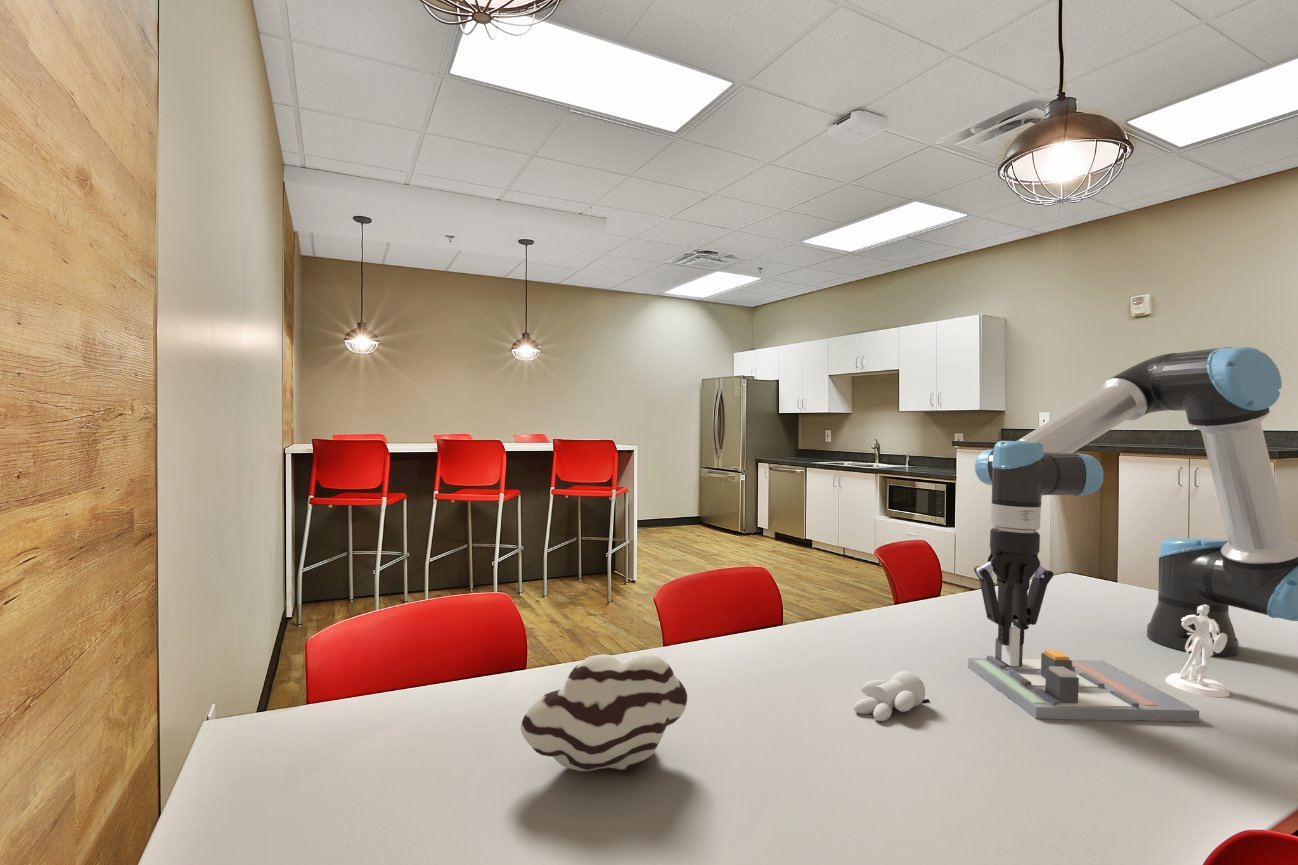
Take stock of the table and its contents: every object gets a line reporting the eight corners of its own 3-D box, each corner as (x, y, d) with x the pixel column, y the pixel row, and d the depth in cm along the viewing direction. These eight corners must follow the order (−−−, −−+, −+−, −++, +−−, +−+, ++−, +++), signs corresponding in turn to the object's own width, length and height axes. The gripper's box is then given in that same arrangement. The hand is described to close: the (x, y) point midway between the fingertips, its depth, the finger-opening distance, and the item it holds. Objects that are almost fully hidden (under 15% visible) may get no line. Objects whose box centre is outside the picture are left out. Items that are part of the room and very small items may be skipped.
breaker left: (1010, 659, 119) (1011, 635, 119) (1022, 666, 116) (1022, 641, 116) (995, 659, 119) (995, 635, 119) (1005, 666, 116) (1006, 641, 116)
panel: (1102, 669, 121) (1103, 656, 121) (1198, 721, 100) (1199, 706, 100) (967, 667, 120) (968, 654, 120) (1035, 718, 99) (1036, 702, 99)
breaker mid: (1057, 675, 112) (1058, 650, 112) (1071, 684, 108) (1072, 657, 108) (1040, 675, 112) (1041, 649, 112) (1053, 683, 108) (1054, 657, 108)
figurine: (1242, 694, 111) (1245, 609, 111) (1208, 699, 108) (1211, 613, 108) (1186, 674, 119) (1188, 596, 119) (1153, 679, 116) (1156, 599, 116)
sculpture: (673, 736, 91) (675, 633, 91) (704, 783, 79) (707, 666, 79) (516, 755, 85) (518, 646, 85) (524, 810, 73) (526, 683, 73)
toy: (884, 734, 95) (945, 708, 103) (884, 698, 95) (945, 674, 102) (841, 712, 102) (901, 689, 110) (841, 678, 102) (901, 657, 110)
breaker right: (1063, 693, 104) (1064, 665, 104) (1078, 702, 101) (1079, 674, 101) (1045, 692, 104) (1046, 665, 104) (1059, 702, 101) (1060, 674, 101)
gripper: (989, 531, 106) (984, 670, 106) (1066, 533, 106) (1061, 672, 106) (966, 524, 113) (962, 654, 114) (1038, 526, 113) (1033, 656, 114)
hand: (1009, 663), depth 110 cm, fingers closed
